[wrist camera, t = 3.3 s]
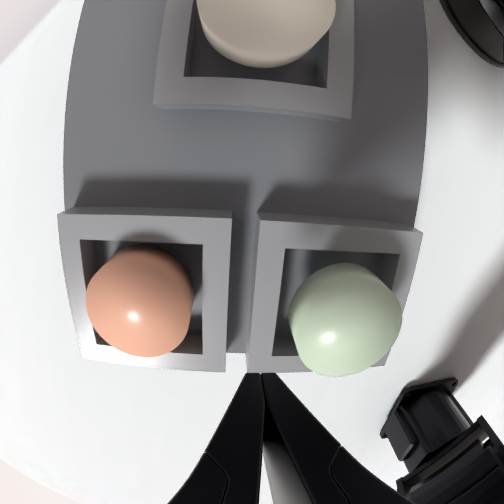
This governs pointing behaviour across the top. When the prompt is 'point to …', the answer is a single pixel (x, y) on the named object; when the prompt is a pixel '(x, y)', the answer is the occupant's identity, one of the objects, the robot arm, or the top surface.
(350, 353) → the sage button
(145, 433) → the top surface
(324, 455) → the robot arm
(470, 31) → the french press
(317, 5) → the cream button
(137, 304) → the terracotta button
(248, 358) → the console
